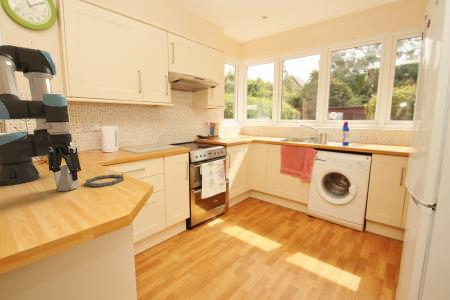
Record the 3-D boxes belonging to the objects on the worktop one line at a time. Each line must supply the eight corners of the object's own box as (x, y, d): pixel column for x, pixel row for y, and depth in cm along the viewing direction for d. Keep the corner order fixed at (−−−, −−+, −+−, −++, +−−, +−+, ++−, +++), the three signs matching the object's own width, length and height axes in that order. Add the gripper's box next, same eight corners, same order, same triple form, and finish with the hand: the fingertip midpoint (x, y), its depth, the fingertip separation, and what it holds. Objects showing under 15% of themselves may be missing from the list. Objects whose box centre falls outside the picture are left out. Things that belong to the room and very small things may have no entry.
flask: (66, 192, 85) (63, 168, 84) (52, 191, 87) (48, 167, 85) (82, 186, 92) (79, 164, 91) (68, 185, 94) (65, 163, 92)
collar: (78, 185, 93) (77, 180, 93) (105, 176, 108) (105, 171, 107) (105, 187, 89) (105, 182, 89) (130, 177, 104) (130, 173, 103)
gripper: (31, 133, 85) (40, 188, 88) (69, 134, 79) (77, 192, 83) (51, 132, 92) (58, 183, 95) (87, 132, 86) (93, 186, 90)
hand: (67, 187), depth 89 cm, fingers closed on flask, 7 cm apart
